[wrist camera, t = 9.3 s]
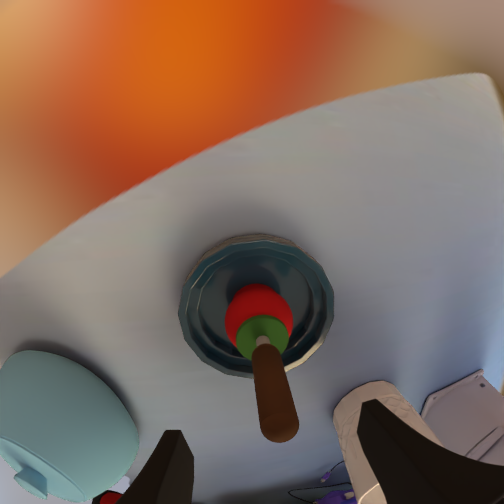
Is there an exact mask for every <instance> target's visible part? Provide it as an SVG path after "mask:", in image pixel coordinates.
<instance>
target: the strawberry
mask: <svg viewBox="0 0 504 504" xmlns="http://www.w3.org/2000/svg"><path fill="white" fill-rule="evenodd" d="M292 328H293V315H292V312H291V309H290V307H289V305H288V303H287V302H286V301H285V300H284V298H283V297H281V296H280V295H279V294H277V293H276V292H275V291H274V290H273V289H272V288H270V287H269V286H266V285H263V284H250V285H247V286H245V287H243V288H241V289H240V290H239V291H238V292H237V293H236V294H235V295H234V297H233V300H232V302H231V303H230V305H229V307H228V309H227V311H226V315H225V329H226V333H227V335H228V337H229V339H230V341H231V342H232V343H233V345H234V346H235V347H237V348H238V350H239V352H240V353H241V354H242V355H243V356H244V357H246V358H247V359H249V360H252V368H253V375H254V383H255V391H256V399H257V406H258V414H259V421H260V428H261V432H262V434H263V435H264V436H265V437H266V438H267V439H268V440H270V441H272V442H277V443H282V442H286V441H288V440H290V439H292V438H293V437H294V436H295V435H296V434H297V431H298V429H299V419H298V416H297V412H296V409H295V405H294V401H293V398H292V394H291V391H290V387H289V383H288V380H287V376H286V373H285V369H284V366H283V362H282V358H281V354H282V353H283V352H284V350H285V349H286V347H287V345H288V342H289V337H290V335H291V332H292Z"/></svg>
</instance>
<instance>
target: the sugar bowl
mask: <svg viewBox="0 0 504 504" xmlns="http://www.w3.org/2000/svg"><path fill="white" fill-rule="evenodd" d="M138 448H139V437H138V432H137V429H136V426H135V424H134V422H133V420H132V418H131V416H130V415H129V413H128V411H127V410H126V408H125V407H124V405H123V404H122V402H121V401H120V400H119V398H118V397H117V396H116V394H115V393H114V392H113V391H112V390H111V389H110V388H109V387H108V386H107V385H106V384H105V383H104V382H103V381H102V380H101V379H100V378H98V377H97V376H96V375H95V374H93V373H92V372H91V371H89V370H88V369H86V368H85V367H83V366H82V365H80V364H78V363H76V362H74V361H72V360H70V359H68V358H66V357H63V356H60V355H56V354H52V353H48V352H43V351H34V350H25V351H21V352H18V353H15V354H13V355H11V356H10V357H9V358H8V360H7V361H6V362H5V363H4V364H3V366H2V368H1V369H0V455H1V456H2V458H3V459H4V460H5V461H6V462H7V463H8V464H9V465H10V466H11V467H12V468H13V469H14V470H15V471H16V472H18V473H17V474H16V475H15V476H14V479H15V480H16V481H17V483H18V484H19V485H20V486H21V487H23V488H24V489H25V490H27V491H28V492H30V493H31V494H33V495H35V496H37V497H39V498H42V499H47V495H48V494H47V493H49V494H51V495H54V496H56V497H58V498H61V499H64V500H67V501H71V502H85V501H87V500H90V499H92V498H94V497H96V496H98V495H99V494H101V493H103V492H104V491H106V490H107V489H109V488H111V487H112V486H113V485H114V484H116V483H117V482H118V481H119V480H120V479H121V478H122V477H123V476H124V475H125V474H126V473H127V471H128V470H129V468H130V467H131V465H132V463H133V461H134V459H135V457H136V455H137V452H138Z"/></svg>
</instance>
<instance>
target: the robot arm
mask: <svg viewBox="0 0 504 504" xmlns="http://www.w3.org/2000/svg"><path fill="white" fill-rule="evenodd" d="M483 373H484V370H483V369H481V370H479V371H477V372H475V373H474V374H472V375H470V376H468V377H466V378H464V379H462V380H461V381H459V382H457V383H455V384H453V385H451V386H449V387H446V388H444V389H442V390H440V391H438V392H436V393H434V394H431V395H430V396H429V397H428V398H427V400H426V403H425V406H424V409H423V411H422V414H421V417H422V418H423V419H424V421H425V422H426V423H427V425H428V426H429V427H430V428H431V430H432V431H433V432H434V434H435V435H436V436H437V437H438V439H439V440H440V441H441V443H442V444H443V445H444V446H445V448H444V447H442V446H440V445H438V444H436V443H435V442H433V441H431V440H430V439H428V438H426V437H425V436H423V435H422V434H420V433H419V432H417V431H416V430H415V429H413V428H412V427H410V426H409V425H408V424H406V423H405V422H404V421H402V420H401V419H400V418H399V417H397V416H396V415H395V414H394V413H393V412H391V411H390V410H389V409H388V408H387V407H386V406H384V405H383V404H382V403H381V402H380V401H379V400H377V399H376V398H375V399H372V400H369V401H366V402H362V406H361V411H360V417H359V422H358V427H357V435H358V438H359V441H360V444H361V447H362V450H363V452H364V455H365V457H366V459H367V461H368V463H369V465H370V467H371V469H372V471H373V473H374V475H375V477H376V479H377V481H378V483H379V485H380V487H381V489H382V491H383V493H384V496H385V499H386V502H387V504H504V397H503V396H502V395H501V394H500V393H499V392H498V391H497V390H496V389H495V388H494V387H493V386H492V385H491V384H490V383H489V382H488V381H487V380H486V379H485V378H484V377H483ZM193 483H194V456H193V454H192V452H191V450H190V448H189V446H188V444H187V442H186V440H185V438H184V436H183V434H182V432H181V430H166V431H165V432H164V433H163V435H162V437H161V439H160V441H159V443H158V444H157V446H156V448H155V450H154V451H153V453H152V455H151V456H150V458H149V459H148V461H147V463H146V464H145V466H144V467H143V469H142V470H141V472H140V473H139V475H138V476H137V477H136V479H135V480H134V481H133V483H132V484H131V485H130V487H129V488H128V489H127V490H126V492H125V493H124V494H123V495H122V496H121V497H120V498H119V499H118V500H117V501H116V502H115V503H114V504H191V500H192V491H193Z"/></svg>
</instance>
